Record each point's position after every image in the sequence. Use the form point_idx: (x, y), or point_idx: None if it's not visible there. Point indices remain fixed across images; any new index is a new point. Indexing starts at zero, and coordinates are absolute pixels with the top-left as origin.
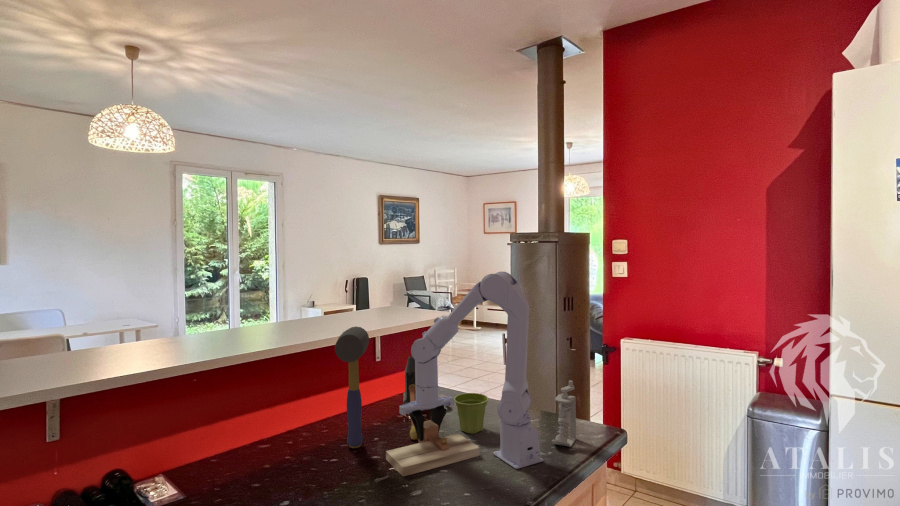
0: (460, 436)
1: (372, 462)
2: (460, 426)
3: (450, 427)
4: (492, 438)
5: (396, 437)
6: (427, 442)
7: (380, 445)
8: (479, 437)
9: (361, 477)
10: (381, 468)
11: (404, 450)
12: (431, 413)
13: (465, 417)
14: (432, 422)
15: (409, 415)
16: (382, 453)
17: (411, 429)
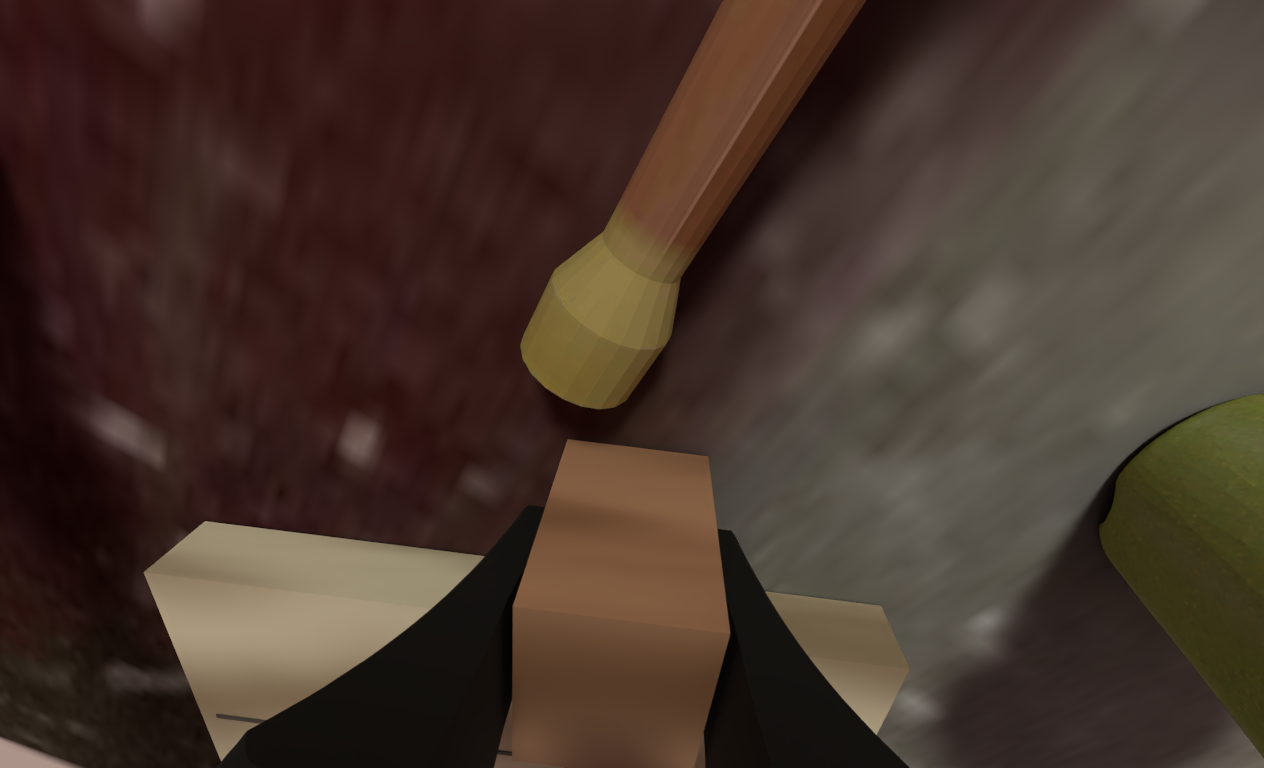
0: (868, 711)
1: (94, 499)
2: (1165, 480)
3: (1153, 303)
4: (1120, 704)
5: (424, 142)
6: None
7: (192, 240)
8: (1074, 644)
9: (19, 616)
10: None
11: (305, 643)
12: (753, 764)
13: (1236, 708)
14: (693, 699)
15: (289, 713)
16: (191, 415)
17: (555, 316)
